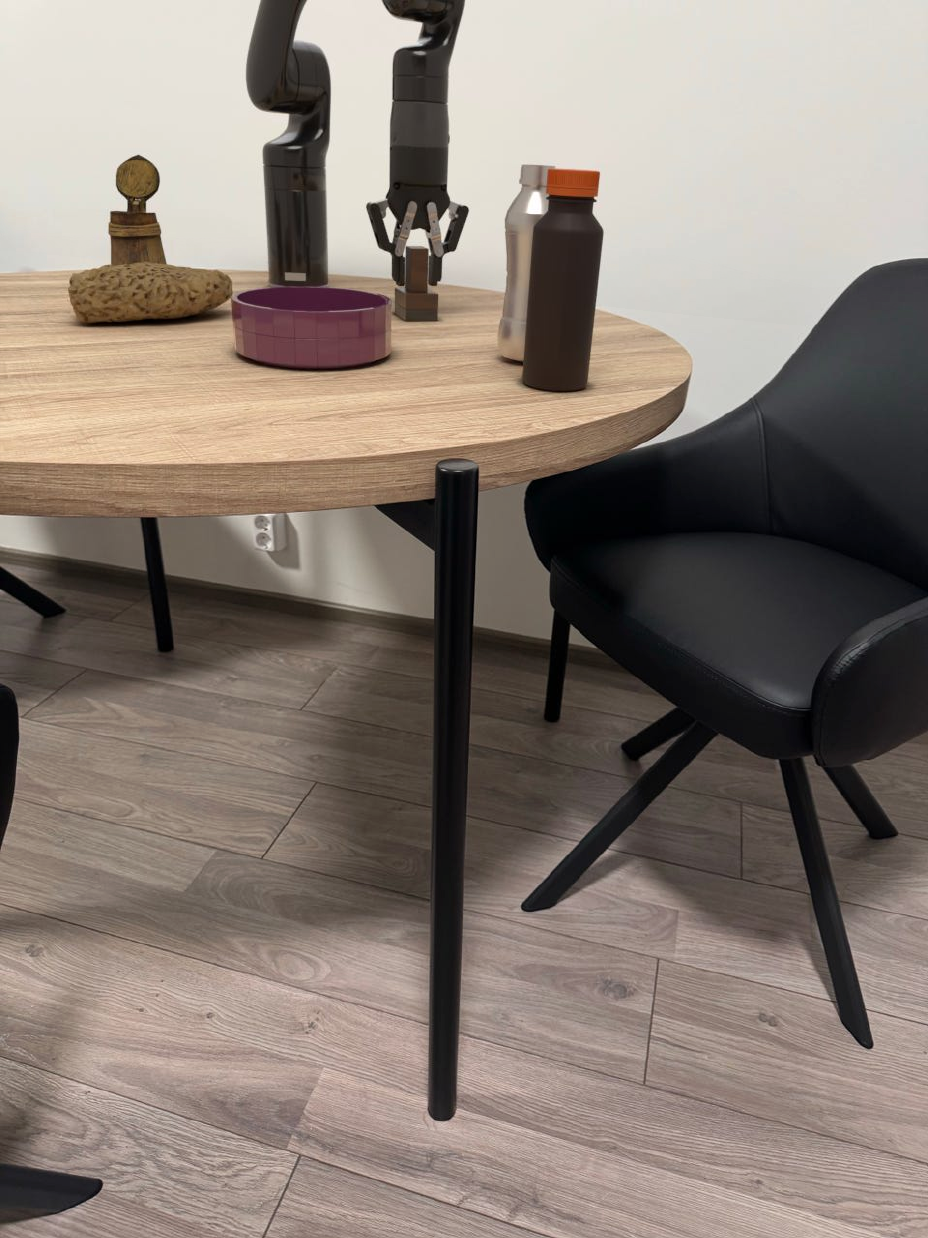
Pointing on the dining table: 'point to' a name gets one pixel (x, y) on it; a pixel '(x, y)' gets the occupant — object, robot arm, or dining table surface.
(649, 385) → the dining table surface
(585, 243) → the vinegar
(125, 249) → the brown wooden stand
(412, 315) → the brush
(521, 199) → the silver metal bottle
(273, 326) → the bowl
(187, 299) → the sponge
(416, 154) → the robot arm
